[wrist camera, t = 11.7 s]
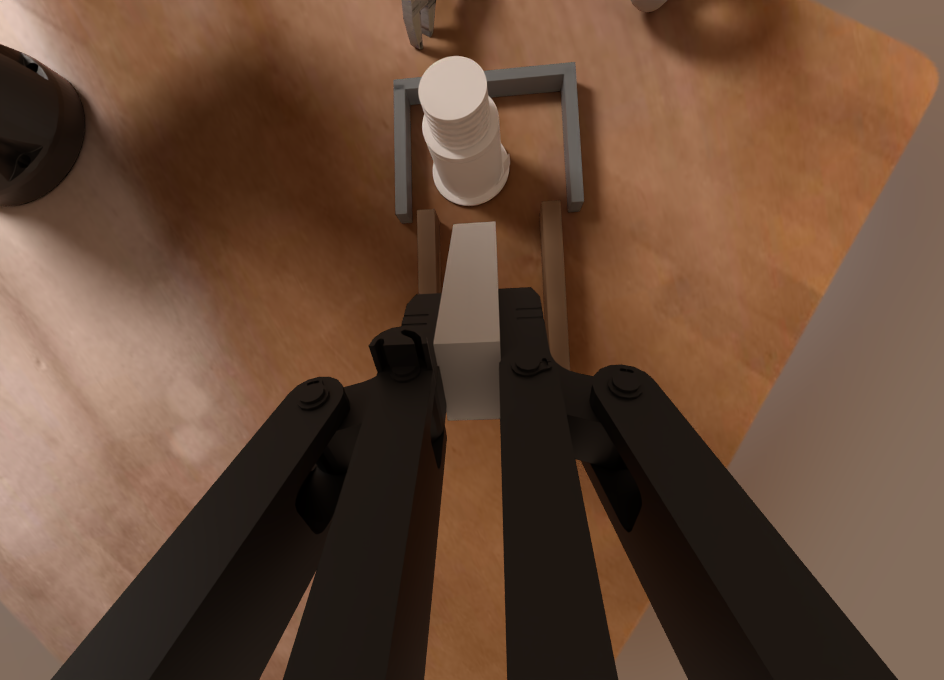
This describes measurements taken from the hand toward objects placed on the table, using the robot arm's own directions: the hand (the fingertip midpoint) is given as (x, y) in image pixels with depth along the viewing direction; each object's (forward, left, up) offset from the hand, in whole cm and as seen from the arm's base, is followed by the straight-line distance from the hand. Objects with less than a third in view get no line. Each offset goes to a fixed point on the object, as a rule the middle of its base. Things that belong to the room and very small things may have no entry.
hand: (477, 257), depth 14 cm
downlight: (-2, +14, -20) cm, 24 cm away
